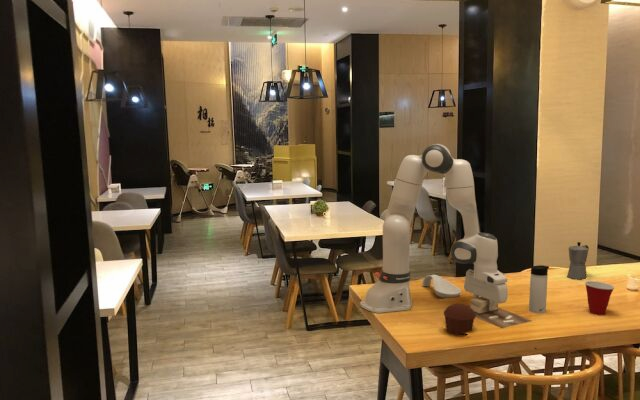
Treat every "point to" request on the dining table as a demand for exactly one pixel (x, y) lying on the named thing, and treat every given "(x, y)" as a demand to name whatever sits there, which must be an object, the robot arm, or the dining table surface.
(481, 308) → the sanding block
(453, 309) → the muffin
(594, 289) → the plastic cup
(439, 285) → the spoon rest
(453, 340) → the dining table surface
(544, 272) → the travel mug
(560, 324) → the dining table surface
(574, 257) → the coffeepot
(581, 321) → the dining table surface
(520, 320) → the walnut board
